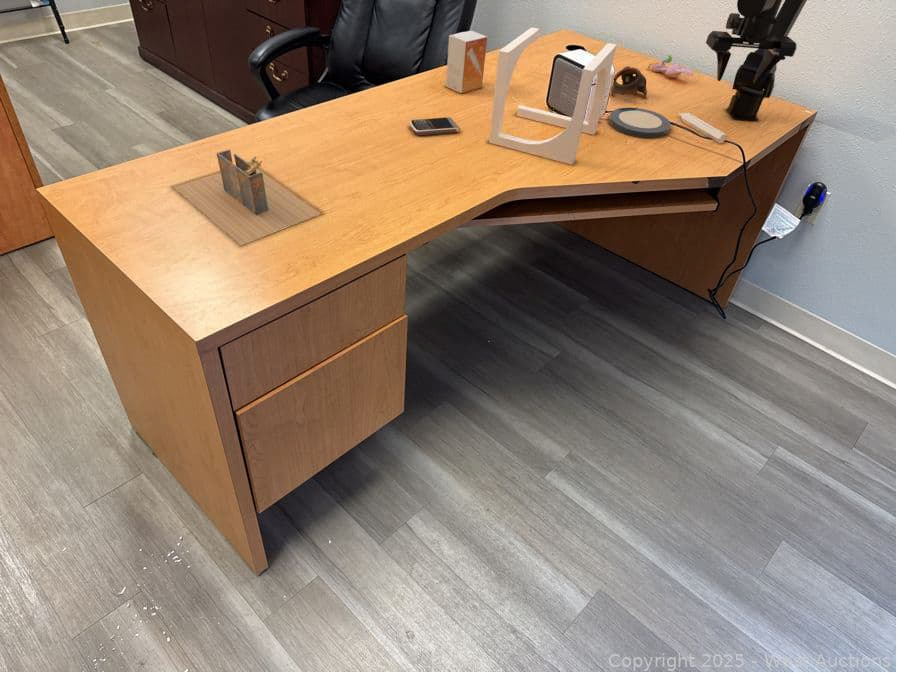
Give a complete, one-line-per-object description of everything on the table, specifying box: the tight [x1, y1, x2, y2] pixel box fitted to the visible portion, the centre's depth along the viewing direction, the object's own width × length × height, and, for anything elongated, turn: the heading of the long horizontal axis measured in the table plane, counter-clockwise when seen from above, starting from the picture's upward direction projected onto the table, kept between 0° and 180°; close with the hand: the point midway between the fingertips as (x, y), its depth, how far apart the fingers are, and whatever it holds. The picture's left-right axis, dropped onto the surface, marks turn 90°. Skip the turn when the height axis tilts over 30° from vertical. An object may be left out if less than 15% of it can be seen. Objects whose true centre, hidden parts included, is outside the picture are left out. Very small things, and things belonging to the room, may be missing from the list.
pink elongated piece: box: [647, 54, 694, 79], centre depth 176 cm, size 6×6×15 cm
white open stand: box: [488, 26, 618, 166], centre depth 135 cm, size 20×20×20 cm
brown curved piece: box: [610, 65, 648, 99], centre depth 163 cm, size 12×10×8 cm
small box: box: [445, 29, 488, 94], centre depth 157 cm, size 8×6×13 cm
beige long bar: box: [677, 112, 727, 144], centre depth 150 cm, size 3×2×16 cm
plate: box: [608, 107, 672, 139], centre depth 150 cm, size 15×15×2 cm
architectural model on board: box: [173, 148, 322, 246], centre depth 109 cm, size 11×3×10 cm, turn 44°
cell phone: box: [409, 116, 460, 136], centre depth 140 cm, size 6×11×1 cm, turn 108°
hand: (736, 81), depth 143 cm, fingers open, 8 cm apart
